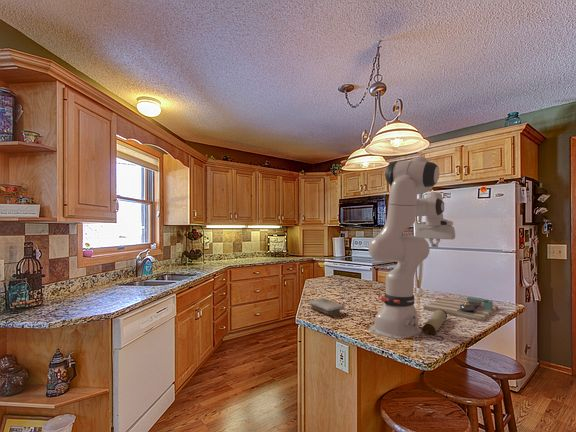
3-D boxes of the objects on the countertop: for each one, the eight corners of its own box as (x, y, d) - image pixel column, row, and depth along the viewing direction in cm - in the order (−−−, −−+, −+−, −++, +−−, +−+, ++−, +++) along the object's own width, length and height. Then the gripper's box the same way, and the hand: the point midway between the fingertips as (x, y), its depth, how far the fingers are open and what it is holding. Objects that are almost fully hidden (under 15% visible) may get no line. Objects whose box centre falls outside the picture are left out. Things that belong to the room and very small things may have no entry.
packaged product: (323, 306, 163) (307, 309, 158) (323, 297, 163) (307, 300, 158) (345, 315, 147) (328, 318, 142) (345, 305, 147) (328, 308, 142)
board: (482, 321, 138) (482, 317, 138) (423, 309, 156) (423, 306, 156) (497, 308, 158) (497, 305, 158) (444, 299, 176) (444, 296, 176)
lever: (472, 312, 144) (472, 305, 144) (458, 309, 148) (458, 303, 148) (483, 303, 159) (483, 297, 159) (470, 301, 163) (470, 295, 163)
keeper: (490, 310, 148) (490, 301, 148) (466, 306, 156) (466, 297, 156) (492, 309, 150) (492, 300, 150) (468, 305, 158) (468, 296, 158)
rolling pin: (433, 341, 116) (433, 328, 116) (418, 337, 120) (418, 325, 120) (449, 319, 142) (449, 308, 142) (436, 316, 145) (436, 306, 145)
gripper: (413, 222, 173) (413, 246, 173) (452, 222, 158) (452, 248, 158) (418, 221, 177) (418, 245, 177) (456, 222, 162) (456, 247, 162)
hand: (434, 247), depth 167 cm, fingers closed
